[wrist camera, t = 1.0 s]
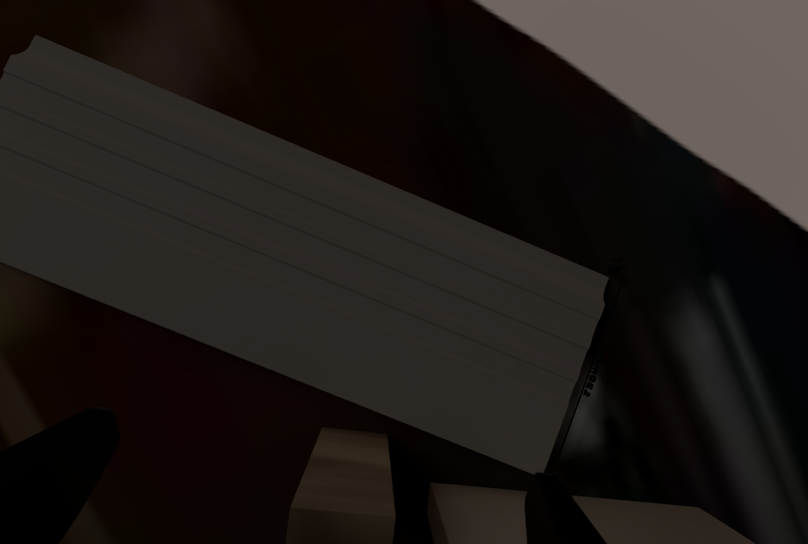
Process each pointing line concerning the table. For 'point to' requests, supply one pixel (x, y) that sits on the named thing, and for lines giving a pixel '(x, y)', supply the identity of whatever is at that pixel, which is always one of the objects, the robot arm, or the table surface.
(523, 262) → the baseboard molding
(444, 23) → the table surface
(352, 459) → the rail post
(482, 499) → the board
